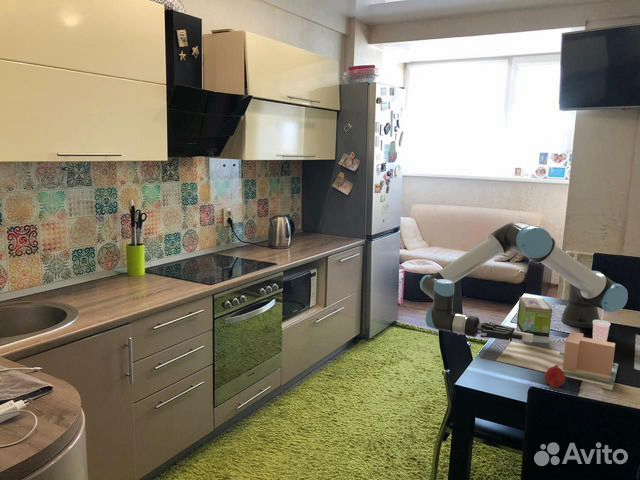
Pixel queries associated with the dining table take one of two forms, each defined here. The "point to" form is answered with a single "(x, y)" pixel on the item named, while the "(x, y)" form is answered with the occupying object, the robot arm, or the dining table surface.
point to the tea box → (534, 318)
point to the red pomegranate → (555, 377)
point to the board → (551, 363)
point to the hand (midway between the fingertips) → (532, 338)
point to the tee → (588, 354)
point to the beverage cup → (600, 329)
